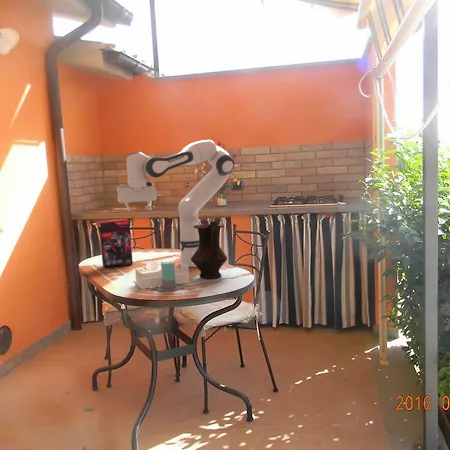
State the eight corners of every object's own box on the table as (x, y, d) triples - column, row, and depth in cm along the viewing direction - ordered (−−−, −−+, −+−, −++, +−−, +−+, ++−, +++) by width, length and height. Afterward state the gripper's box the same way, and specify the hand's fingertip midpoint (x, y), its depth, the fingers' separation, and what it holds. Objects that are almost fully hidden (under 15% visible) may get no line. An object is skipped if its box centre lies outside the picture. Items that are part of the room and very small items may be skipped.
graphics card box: (104, 268, 290) (100, 222, 287) (101, 266, 296) (98, 220, 293) (133, 265, 298) (130, 219, 294) (130, 263, 304) (127, 218, 300)
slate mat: (178, 284, 245) (178, 283, 245) (184, 288, 237) (184, 287, 236) (154, 288, 240) (154, 287, 240) (159, 292, 232) (159, 291, 232)
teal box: (172, 285, 242) (171, 261, 240) (175, 287, 237) (174, 263, 236) (162, 287, 240) (161, 262, 238) (165, 289, 235) (163, 264, 234)
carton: (178, 275, 265) (178, 260, 263) (189, 282, 248) (188, 266, 247) (133, 281, 256) (132, 266, 255) (141, 289, 239) (140, 273, 238)
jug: (187, 275, 264) (184, 218, 260) (220, 271, 270) (217, 215, 266) (199, 284, 244) (196, 223, 240) (235, 279, 251) (232, 219, 247)
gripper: (117, 185, 254) (119, 212, 256) (156, 182, 262) (158, 209, 264) (115, 184, 260) (117, 211, 262) (153, 182, 268) (155, 208, 269)
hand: (138, 210), depth 263 cm, fingers open, 8 cm apart
